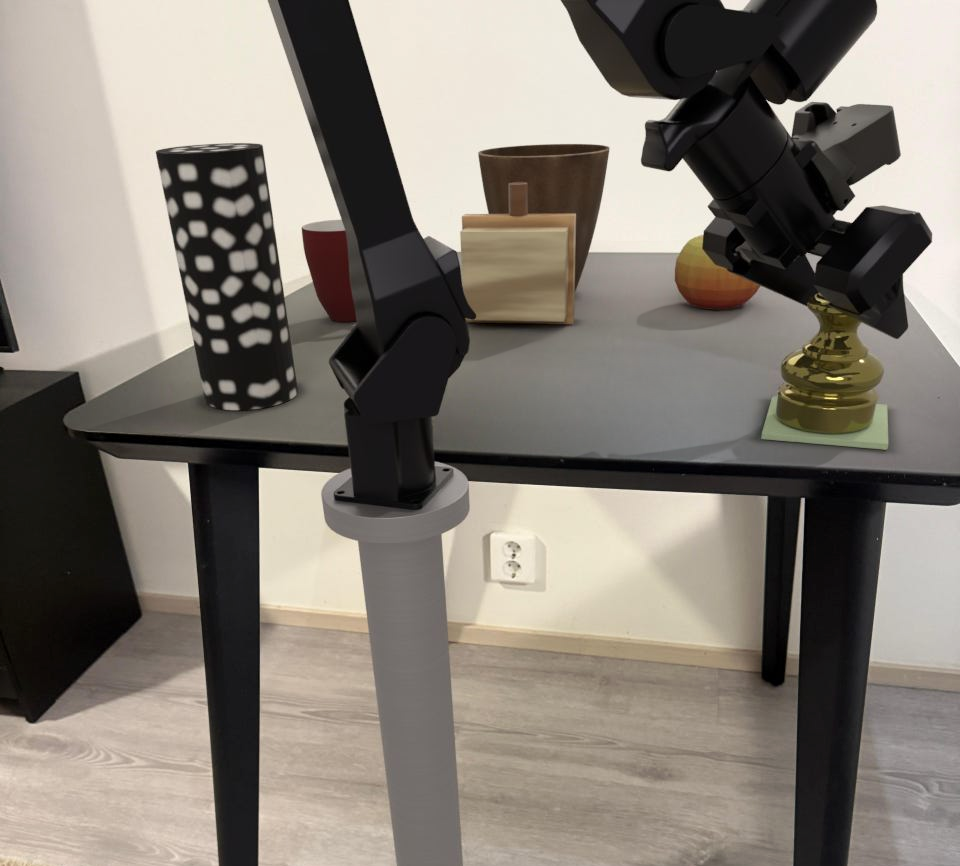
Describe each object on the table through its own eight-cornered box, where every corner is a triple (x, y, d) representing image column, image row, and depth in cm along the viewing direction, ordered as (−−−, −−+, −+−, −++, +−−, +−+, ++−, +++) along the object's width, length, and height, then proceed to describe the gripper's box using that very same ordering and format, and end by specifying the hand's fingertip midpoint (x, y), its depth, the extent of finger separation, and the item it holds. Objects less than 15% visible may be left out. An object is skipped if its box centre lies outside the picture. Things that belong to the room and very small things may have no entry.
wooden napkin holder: (568, 331, 99) (570, 187, 91) (459, 329, 101) (453, 188, 94) (574, 320, 103) (577, 181, 95) (469, 318, 105) (464, 182, 97)
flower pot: (457, 297, 114) (451, 152, 105) (543, 277, 122) (543, 140, 113) (543, 317, 104) (543, 158, 96) (629, 293, 113) (637, 145, 104)
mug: (412, 312, 109) (406, 220, 103) (385, 329, 102) (376, 232, 97) (332, 308, 112) (321, 218, 106) (300, 325, 105) (287, 230, 100)
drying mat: (887, 450, 68) (888, 443, 68) (761, 439, 70) (761, 433, 70) (886, 410, 75) (887, 404, 75) (771, 402, 78) (772, 396, 77)
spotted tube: (188, 408, 82) (134, 154, 71) (231, 379, 88) (188, 144, 78) (274, 412, 80) (233, 152, 69) (311, 383, 87) (279, 142, 76)
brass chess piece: (823, 398, 76) (844, 270, 71) (895, 424, 71) (924, 287, 65) (753, 414, 74) (770, 283, 68) (822, 442, 68) (847, 302, 63)
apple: (719, 320, 100) (727, 241, 96) (654, 305, 107) (659, 231, 103) (777, 305, 105) (788, 229, 101) (712, 291, 112) (719, 220, 108)
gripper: (943, 55, 51) (1044, 250, 60) (756, 57, 66) (858, 212, 75) (798, 223, 53) (915, 387, 62) (649, 187, 68) (760, 323, 77)
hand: (859, 318), depth 69 cm, fingers open, 9 cm apart
